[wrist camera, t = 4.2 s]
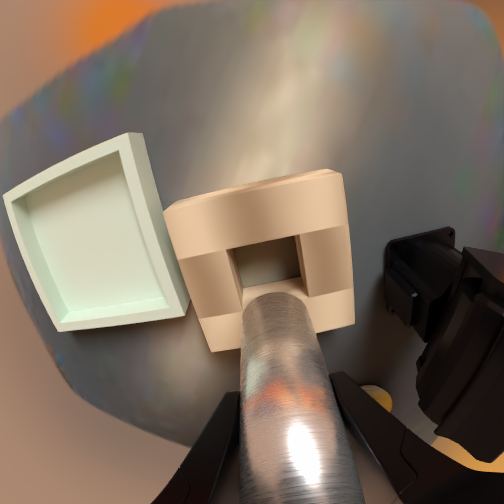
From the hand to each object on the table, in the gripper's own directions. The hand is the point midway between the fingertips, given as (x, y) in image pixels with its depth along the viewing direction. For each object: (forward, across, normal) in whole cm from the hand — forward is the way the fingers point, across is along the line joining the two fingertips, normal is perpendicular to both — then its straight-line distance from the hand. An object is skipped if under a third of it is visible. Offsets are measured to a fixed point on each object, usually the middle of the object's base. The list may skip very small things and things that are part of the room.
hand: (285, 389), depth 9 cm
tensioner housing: (+12, 0, 0) cm, 12 cm away
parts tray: (+12, +12, -4) cm, 17 cm away
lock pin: (+4, 0, 0) cm, 4 cm away
